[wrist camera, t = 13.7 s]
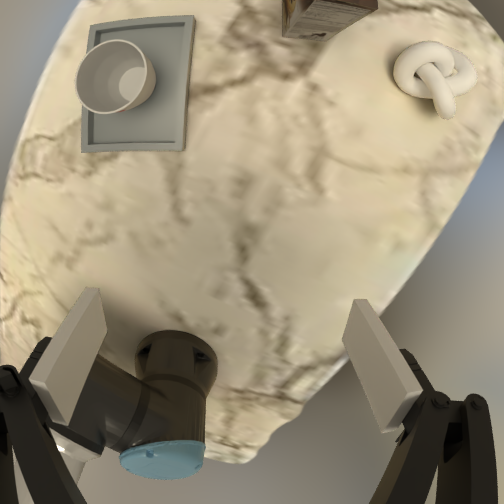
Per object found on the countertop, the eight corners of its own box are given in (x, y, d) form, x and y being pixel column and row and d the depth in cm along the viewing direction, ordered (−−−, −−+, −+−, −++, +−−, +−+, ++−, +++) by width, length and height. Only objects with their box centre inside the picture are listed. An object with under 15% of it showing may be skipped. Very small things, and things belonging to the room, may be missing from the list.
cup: (97, 94, 34) (61, 91, 25) (132, 45, 31) (105, 27, 22) (141, 124, 36) (115, 128, 27) (179, 75, 34) (163, 62, 25)
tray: (185, 148, 39) (182, 150, 36) (88, 150, 37) (81, 152, 35) (195, 20, 31) (193, 15, 29) (97, 29, 30) (90, 25, 28)
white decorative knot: (415, 25, 32) (449, 14, 24) (460, 83, 36) (497, 84, 28) (375, 66, 35) (407, 58, 27) (426, 126, 39) (462, 132, 31)
